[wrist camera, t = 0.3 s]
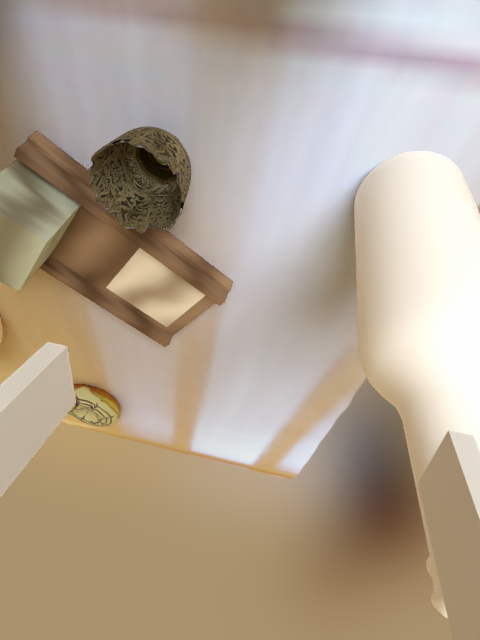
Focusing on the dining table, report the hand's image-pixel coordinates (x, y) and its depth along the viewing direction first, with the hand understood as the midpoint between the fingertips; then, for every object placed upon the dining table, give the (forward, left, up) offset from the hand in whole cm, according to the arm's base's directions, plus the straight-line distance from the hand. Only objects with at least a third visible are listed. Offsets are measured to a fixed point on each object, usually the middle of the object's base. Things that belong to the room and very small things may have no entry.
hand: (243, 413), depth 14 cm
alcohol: (-2, +11, -27) cm, 29 cm away
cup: (+10, -7, -27) cm, 29 cm away
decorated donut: (+60, +8, -27) cm, 66 cm away
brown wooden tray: (+24, -5, -26) cm, 36 cm away
